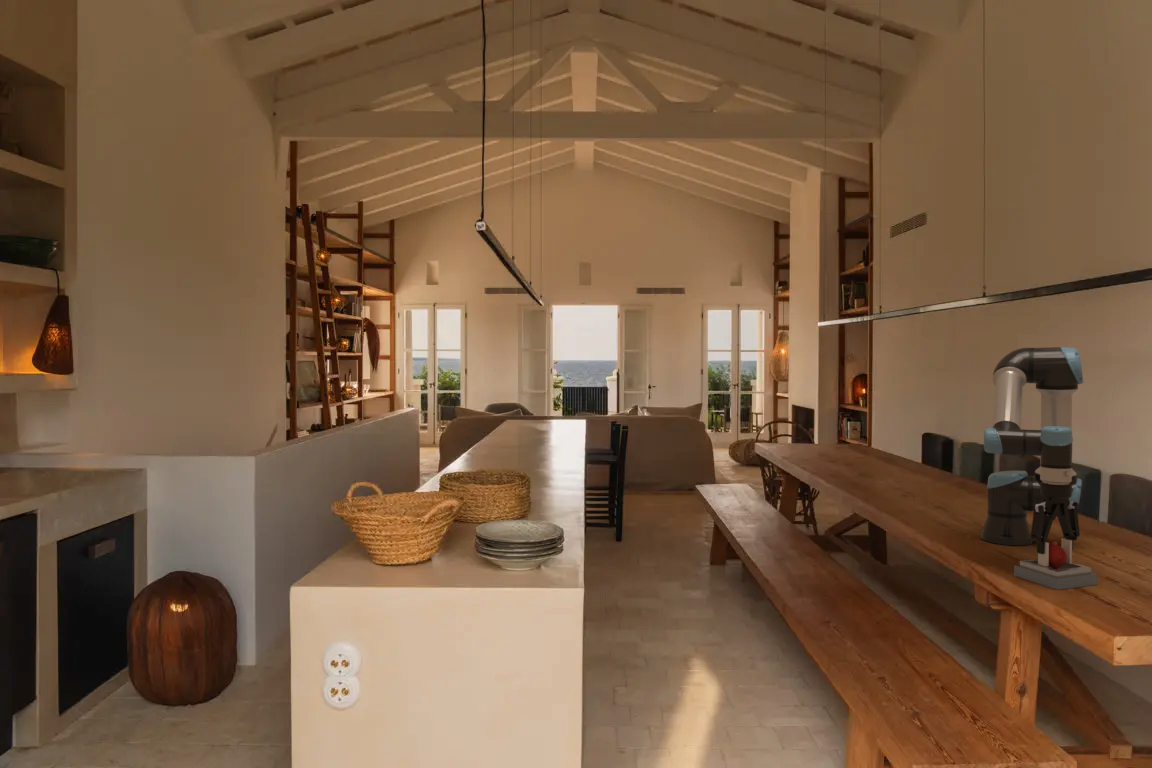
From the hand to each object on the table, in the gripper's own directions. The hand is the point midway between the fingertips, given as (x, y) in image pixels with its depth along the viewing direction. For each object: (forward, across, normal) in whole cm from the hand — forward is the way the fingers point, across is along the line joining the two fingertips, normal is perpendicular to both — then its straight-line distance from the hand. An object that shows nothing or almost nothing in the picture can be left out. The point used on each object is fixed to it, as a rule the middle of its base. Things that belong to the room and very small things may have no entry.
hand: (1054, 563), depth 219 cm
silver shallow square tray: (+5, 0, 0) cm, 5 cm away
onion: (+2, 0, 0) cm, 2 cm away
